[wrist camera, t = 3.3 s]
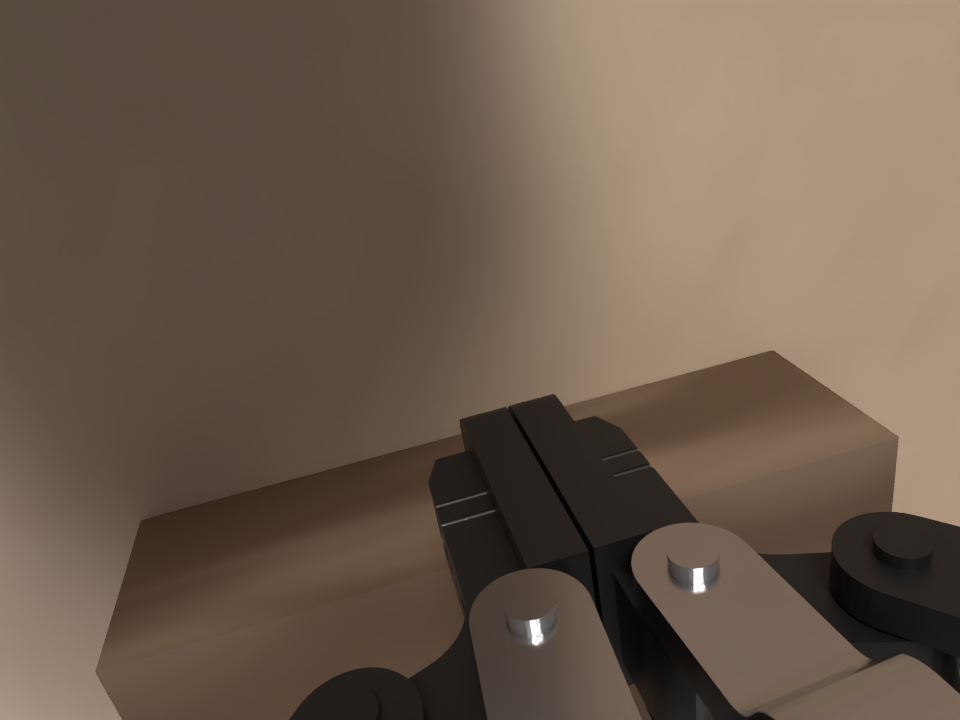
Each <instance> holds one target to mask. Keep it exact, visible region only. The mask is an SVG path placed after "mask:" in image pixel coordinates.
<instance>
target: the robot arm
mask: <svg viewBox="0 0 960 720" xmlns="http://www.w3.org/2000/svg"><path fill="white" fill-rule="evenodd" d="M460 427H461V433H462V438H463V443H464V448H465V452H461V453H458V454H454V455H450V456H447V457H443V458H439V459H436V460H435V463H434V466H433V469H432V472H431V475H430V478H429V481H428V484H429V488H430V492H431V496H432V500H433V505H434V509H435V513H436V517H437V521H438V525H439V530H440V534H441V538H442V542H443V546H444V550H445V554H446V559H447V562H448V566H449V569H450V572H451V576H452V579H453V582H454V585H455V589H456V592H457V596H458V599H459V603H460V606H461V609H462V613H463V616H464V624H463V626H462V628H461V631H460V633H459V635H458V636H457V638H456V640H455V641H454V643H453V644H452V645H451V646H450V648H449V649H448V650H447V651H446V652H445V653H444V654H443V655H442V656H441V657H439V658H438V659H437V660H436V661H434V662H433V663H431V664H430V665H429V666H427V667H426V668H424V669H422V670H421V671H419V672H418V673H416V674H415V675H413V676H411V677H410V678H406V677H405V676H403V675H402V674H400V673H398V672H395V671H393V670H390V669H385V668H379V667H367V668H359V669H355V670H351V671H347V672H344V673H342V674H340V675H337V676H335V677H333V678H331V679H330V680H328V681H326V682H324V683H323V684H322V685H320V686H319V687H317V688H316V689H315V690H314V691H313V692H312V693H310V694H309V695H308V696H307V697H306V698H305V699H304V701H303V702H302V703H301V704H300V705H299V707H298V708H297V709H296V711H295V712H294V713H293V715H292V716H291V718H290V719H289V720H642V718H641V716H640V714H639V711H638V709H637V706H636V704H635V702H634V699H633V697H632V694H631V692H630V689H629V687H628V686H629V685H633V684H635V686H636V688H637V690H638V691H639V693H640V695H641V697H642V699H643V701H644V703H645V706H646V716H647V720H960V527H958V526H955V525H951V524H947V523H943V522H939V521H935V520H931V519H927V518H923V517H919V516H915V515H911V514H906V513H898V512H873V513H867V514H862V515H858V516H856V517H853V518H851V519H849V520H847V521H845V522H844V523H842V524H841V525H840V526H839V527H838V528H837V530H836V531H835V532H834V534H833V537H832V544H831V552H823V553H802V554H761V553H756V552H755V551H754V550H753V549H752V548H751V547H750V546H749V545H748V544H747V543H746V542H745V541H744V540H742V539H741V538H740V537H739V536H737V535H735V534H734V533H732V532H730V531H728V530H725V529H723V528H720V527H717V526H713V525H709V524H703V523H699V522H698V521H697V520H696V518H695V517H694V516H693V515H692V513H691V512H690V511H689V510H688V509H687V507H686V506H685V505H684V504H683V503H682V501H681V500H680V499H679V498H678V497H677V495H676V494H675V493H674V492H673V491H672V489H671V488H670V487H669V486H668V484H667V483H666V482H665V481H664V480H663V478H662V477H661V476H660V475H659V474H658V472H657V471H656V470H655V469H654V468H653V467H651V466H650V463H649V461H648V460H647V459H646V458H645V457H644V455H643V454H642V453H641V452H640V451H638V450H637V447H636V446H635V445H634V443H633V442H632V441H631V440H630V438H629V437H628V436H627V435H626V434H625V432H624V431H623V430H622V429H621V428H619V427H617V426H615V425H613V424H611V423H609V422H607V421H605V420H603V419H601V418H599V417H597V416H592V417H588V418H585V419H581V420H577V421H574V420H573V419H572V417H571V416H570V414H569V413H568V412H567V410H566V409H565V408H564V406H563V405H562V403H561V402H560V401H559V399H558V398H557V397H556V396H555V395H554V394H552V395H548V396H544V397H541V398H537V399H533V400H529V401H526V402H522V403H518V404H514V405H511V406H508V409H507V408H506V407H504V408H500V409H496V410H493V411H489V412H485V413H481V414H478V415H474V416H470V417H467V418H463V419H460Z"/></svg>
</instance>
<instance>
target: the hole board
mask: <svg viewBox="0 0 960 720" xmlns="http://www.w3.org/2000/svg"><path fill="white" fill-rule="evenodd" d="M564 408H565V409H566V410H567V412H568V413H569V414H570V416H571V417H572V419H573V420H574V421H577V420H581V419H585V418H588V417H592V416H597V417H599V418H601V419H603V420H605V421H607V422H609V423H611V424H613V425H615V426H617V427H619V428H621V429H622V430H623V431H624V432H625V434H626V435H627V436H628V437H629V438H630V440H631V441H632V442H633V443H634V445H635V446H636V447H637V450H638V451H640V452H641V453H642V454H643V455H644V457H645V458H646V459H647V460H648V461H649V463H650V466H651V467H653V468H654V469H655V470H656V471H657V472H658V474H659V475H660V476H661V477H662V478H663V480H664V481H665V482H666V483H667V484H668V486H669V487H670V488H671V489H672V491H673V492H674V493H675V494H676V495H677V497H678V498H679V499H680V500H681V501H682V503H683V504H684V505H685V506H686V507H687V509H688V510H689V511H690V512H691V513H692V515H693V516H694V517H695V518H696V520H697V521H698V522H699V523H703V524H709V525H713V526H717V527H720V528H723V529H725V530H728V531H730V532H732V533H734V534H735V535H737V536H739V537H740V538H741V539H742V540H744V541H745V542H746V543H747V544H748V545H749V546H750V547H751V548H752V549H753V550H754V551H755V552H756V553H761V554H802V553H823V552H831V544H832V537H833V534H834V532H835V531H836V530H837V528H838V527H839V526H840V525H841V524H842V523H844V522H845V521H847V520H849V519H851V518H853V517H856V516H858V515H862V514H867V513H873V512H891V511H892V501H893V490H894V480H895V470H896V459H897V449H898V438H899V437H898V436H897V435H895V434H894V433H892V432H891V431H889V430H888V429H887V428H885V427H884V426H882V425H881V424H879V423H878V422H876V421H875V420H873V419H872V418H871V417H869V416H868V415H866V414H865V413H863V412H862V411H860V410H859V409H858V408H856V407H855V406H853V405H852V404H850V403H849V402H847V401H846V400H844V399H843V398H842V397H840V396H839V395H837V394H836V393H834V392H833V391H831V390H830V389H828V388H827V387H826V386H824V385H823V384H821V383H820V382H818V381H817V380H815V379H814V378H812V377H811V376H810V375H808V374H807V373H805V372H804V371H802V370H801V369H799V368H798V367H797V366H795V365H794V364H792V363H791V362H789V361H788V360H786V359H785V358H783V357H782V356H781V355H779V354H778V353H776V352H775V351H769V352H766V353H762V354H758V355H754V356H751V357H747V358H743V359H740V360H736V361H732V362H728V363H725V364H721V365H717V366H714V367H710V368H706V369H702V370H699V371H695V372H691V373H688V374H684V375H680V376H676V377H673V378H669V379H665V380H662V381H658V382H654V383H651V384H647V385H643V386H639V387H636V388H632V389H628V390H625V391H621V392H617V393H613V394H610V395H606V396H602V397H599V398H595V399H591V400H587V401H584V402H580V403H576V404H573V405H569V406H565V407H564ZM461 452H465V448H464V443H463V438H462V434H461V435H458V436H454V437H450V438H447V439H443V440H439V441H435V442H432V443H428V444H424V445H421V446H417V447H413V448H409V449H406V450H402V451H398V452H395V453H391V454H387V455H384V456H380V457H376V458H372V459H369V460H365V461H361V462H358V463H354V464H350V465H346V466H343V467H339V468H335V469H332V470H328V471H324V472H320V473H317V474H313V475H309V476H306V477H302V478H298V479H294V480H291V481H287V482H283V483H280V484H276V485H272V486H269V487H265V488H261V489H257V490H254V491H250V492H246V493H243V494H239V495H235V496H231V497H228V498H224V499H220V500H217V501H213V502H209V503H205V504H202V505H198V506H194V507H191V508H187V509H183V510H180V511H176V512H172V513H168V514H165V515H161V516H157V517H154V518H150V519H146V520H142V521H141V522H140V525H139V529H138V532H137V535H136V539H135V542H134V545H133V549H132V552H131V555H130V559H129V562H128V565H127V569H126V572H125V575H124V579H123V582H122V585H121V589H120V592H119V595H118V599H117V602H116V605H115V609H114V612H113V615H112V619H111V622H110V625H109V629H108V632H107V635H106V639H105V642H104V645H103V648H102V652H101V655H100V658H99V662H98V665H97V668H96V674H97V676H98V678H99V679H100V681H101V683H102V685H103V686H104V688H105V690H106V692H107V693H108V695H109V697H110V699H111V701H112V702H113V704H114V706H115V708H116V709H117V711H118V713H119V715H120V716H121V718H122V720H289V719H290V718H291V716H292V715H293V713H294V712H295V711H296V709H297V708H298V707H299V705H300V704H301V703H302V702H303V701H304V699H305V698H306V697H307V696H308V695H309V694H310V693H312V692H313V691H314V690H315V689H316V688H317V687H319V686H320V685H322V684H323V683H324V682H326V681H328V680H330V679H331V678H333V677H335V676H337V675H340V674H342V673H344V672H347V671H351V670H355V669H359V668H367V667H379V668H385V669H390V670H393V671H395V672H398V673H400V674H402V675H403V676H405V677H406V678H410V677H411V676H413V675H415V674H416V673H418V672H419V671H421V670H422V669H424V668H426V667H427V666H429V665H430V664H431V663H433V662H434V661H436V660H437V659H438V658H439V657H441V656H442V655H443V654H444V653H445V652H446V651H447V650H448V649H449V648H450V646H451V645H452V644H453V643H454V641H455V640H456V638H457V636H458V635H459V633H460V631H461V628H462V626H463V624H464V616H463V613H462V609H461V606H460V603H459V599H458V596H457V592H456V589H455V585H454V582H453V579H452V576H451V572H450V569H449V566H448V562H447V559H446V554H445V550H444V546H443V542H442V538H441V534H440V530H439V525H438V521H437V517H436V513H435V509H434V505H433V500H432V496H431V492H430V488H429V484H428V481H429V478H430V475H431V472H432V469H433V466H434V463H435V460H436V459H439V458H443V457H447V456H450V455H454V454H458V453H461ZM628 687H629V689H630V692H631V694H632V697H633V699H634V702H635V704H636V706H637V709H638V711H639V714H640V716H641V718H642V720H647V716H646V706H645V703H644V701H643V699H642V697H641V695H640V693H639V691H638V690H637V688H636V686H635V684H633V685H629V686H628Z"/></svg>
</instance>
